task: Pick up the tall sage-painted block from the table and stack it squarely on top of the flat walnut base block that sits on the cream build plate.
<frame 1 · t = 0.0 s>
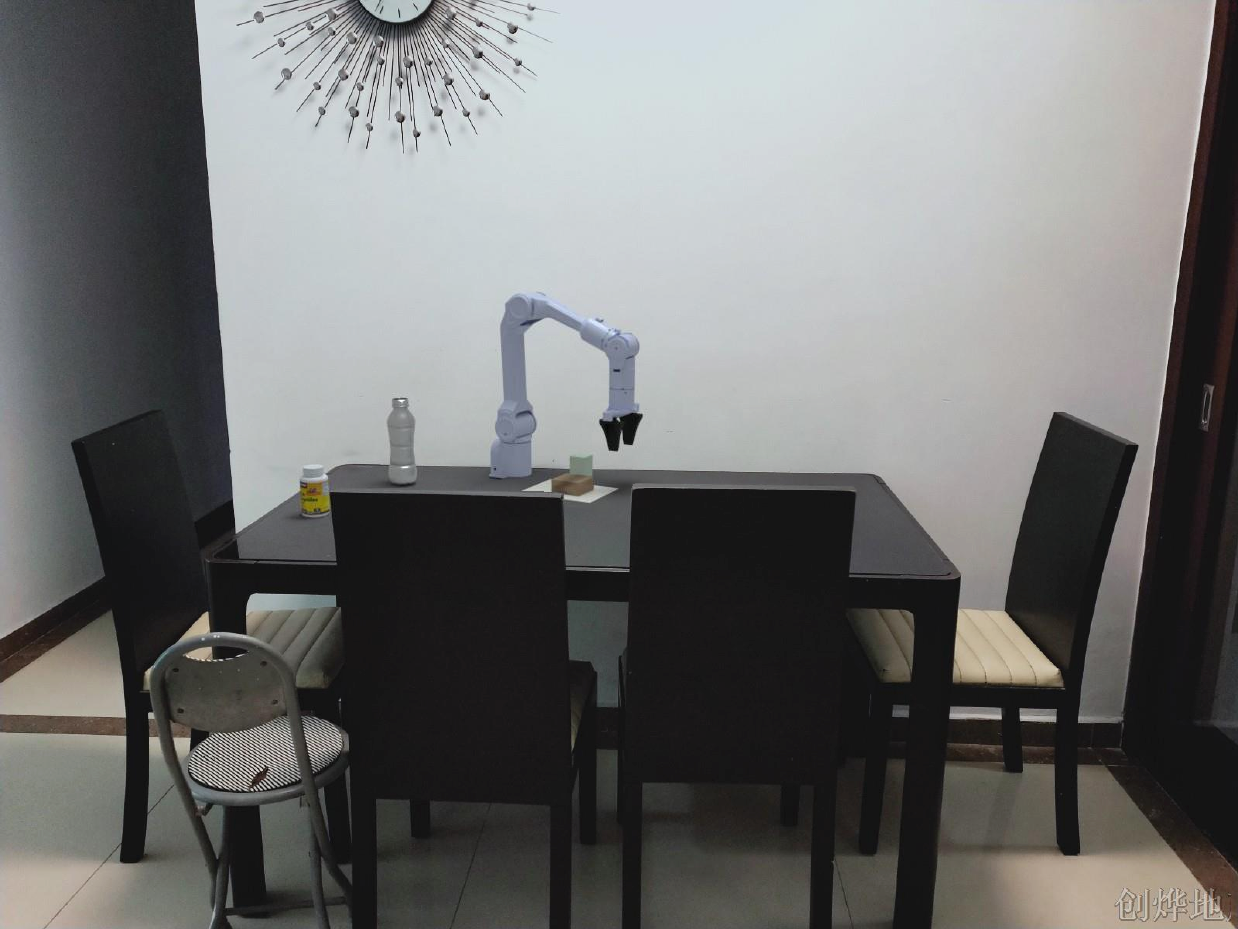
hand: (620, 447, 214), 10 cm above the table, fingers open, 7 cm apart
build plate: (568, 493, 213), on the table
supplement bottle: (316, 515, 194), on the table
plastic bottle: (403, 484, 220), on the table
sage block: (581, 479, 226), on the table
walnut base: (572, 490, 212), point 1 cm above the table, touching build plate
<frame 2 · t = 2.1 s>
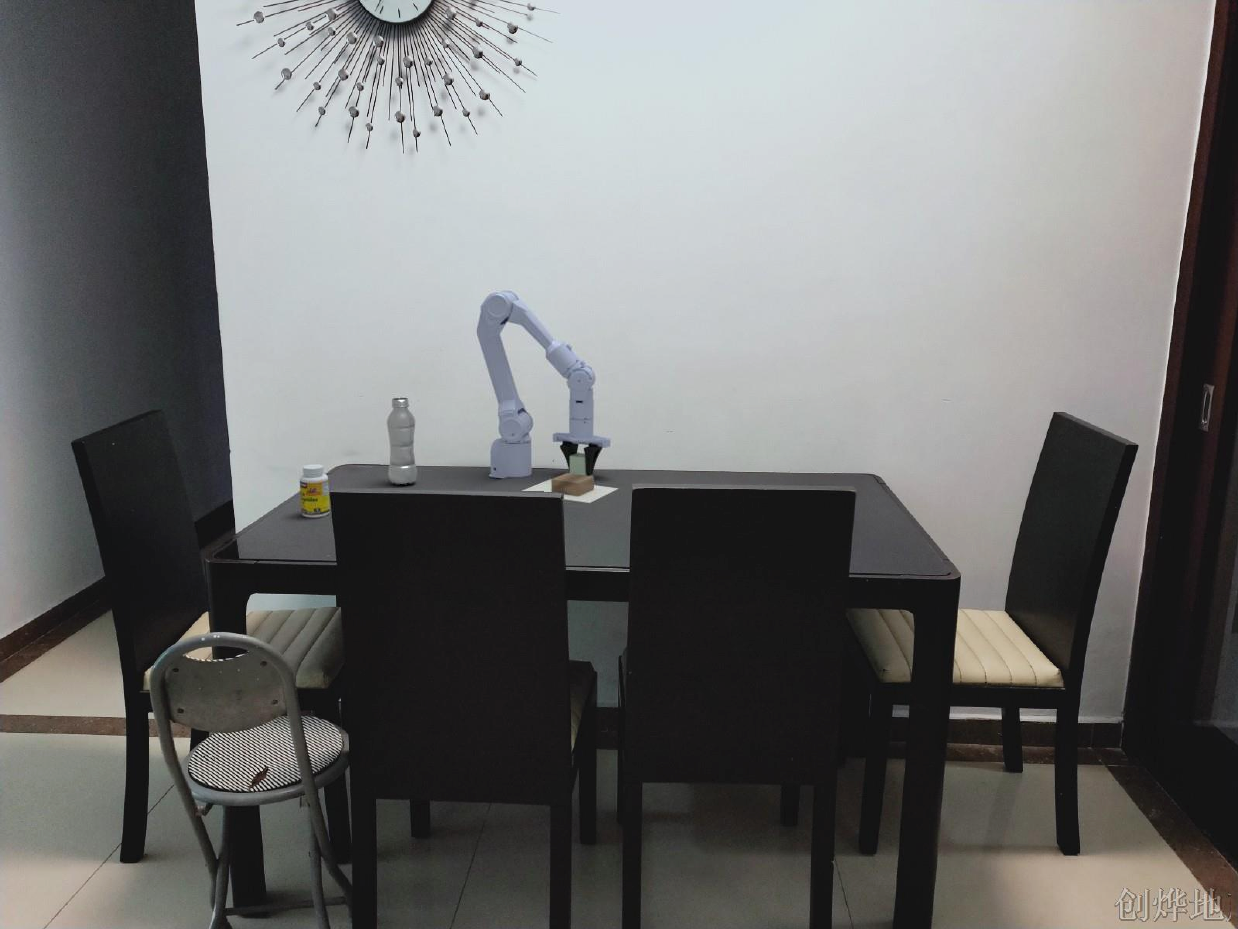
hand: (581, 473, 226), 1 cm above the table, fingers closed on sage block, 4 cm apart
sage block: (581, 479, 226), on the table, touching gripper
everything else where it was.
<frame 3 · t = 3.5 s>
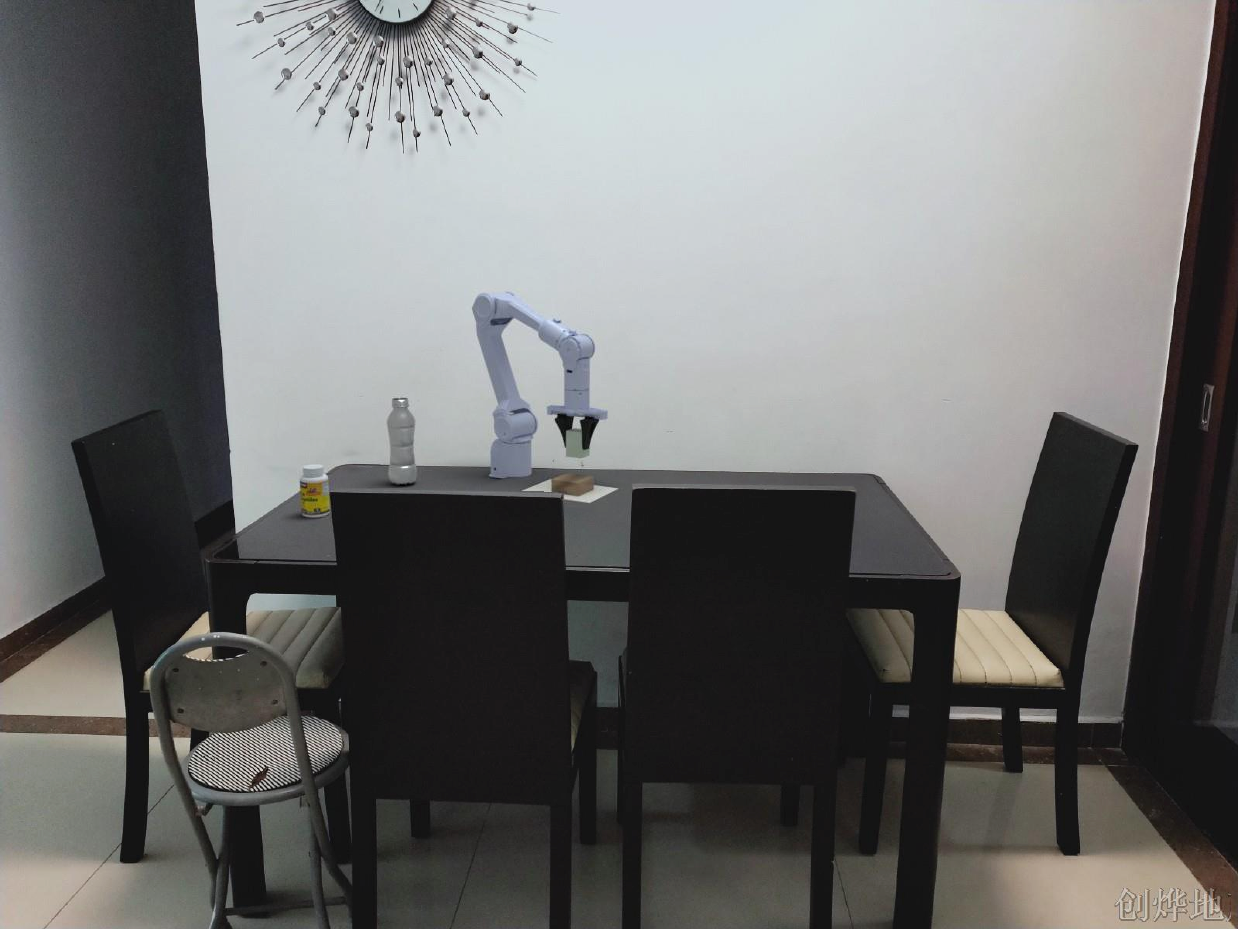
hand: (576, 448, 216), 9 cm above the table, fingers closed on sage block, 4 cm apart
sage block: (577, 455, 216), point 8 cm above the table, touching gripper
everything else where it was.
when the fingers open (6 cm above the table, at t = 4.8 s): sage block stays where it is, resting on walnut base.
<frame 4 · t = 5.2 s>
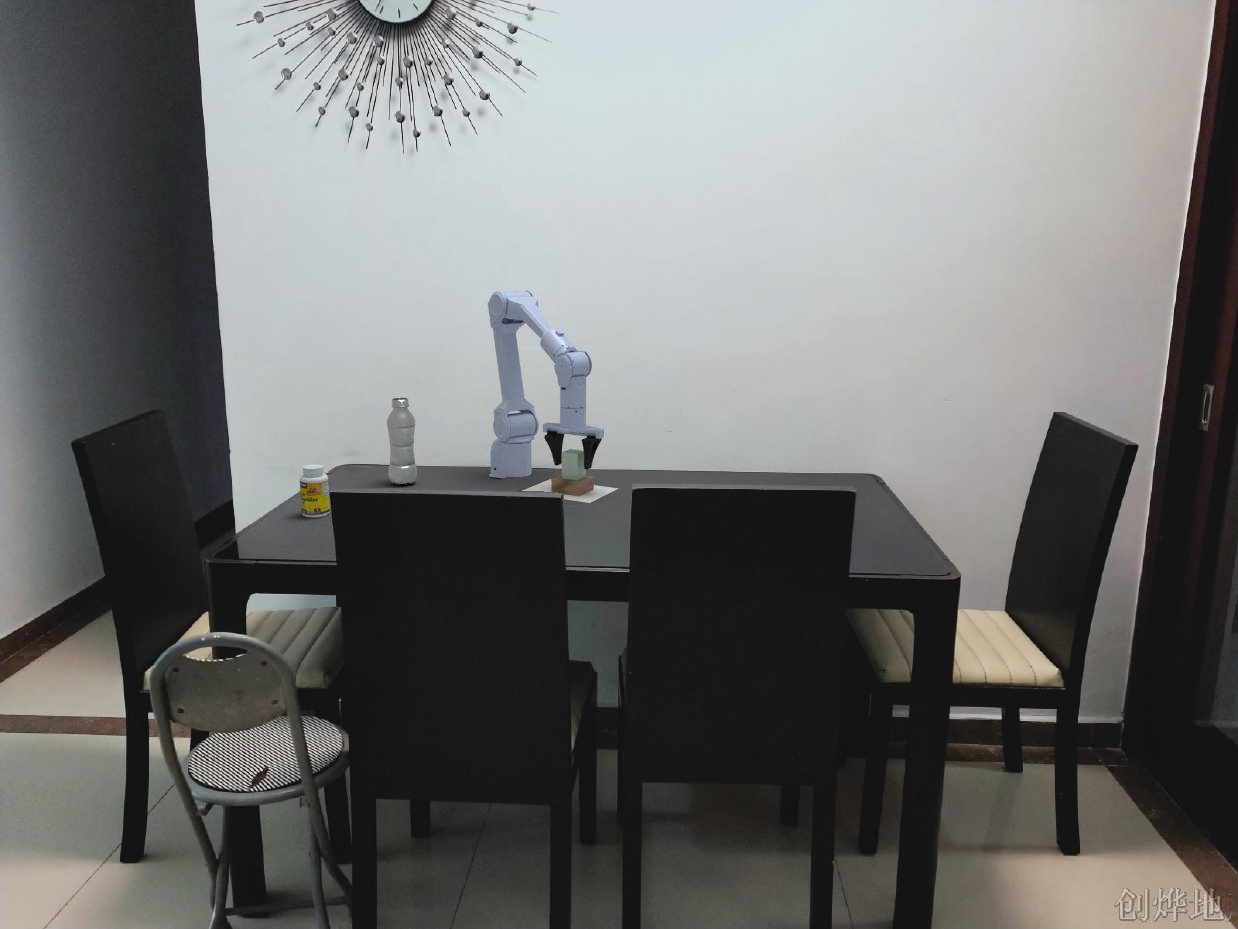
hand: (572, 466, 211), 6 cm above the table, fingers open, 7 cm apart
sage block: (573, 477, 212), point 4 cm above the table, touching walnut base
walnut base: (572, 490, 212), point 1 cm above the table, touching build plate, sage block
everything else where it was.
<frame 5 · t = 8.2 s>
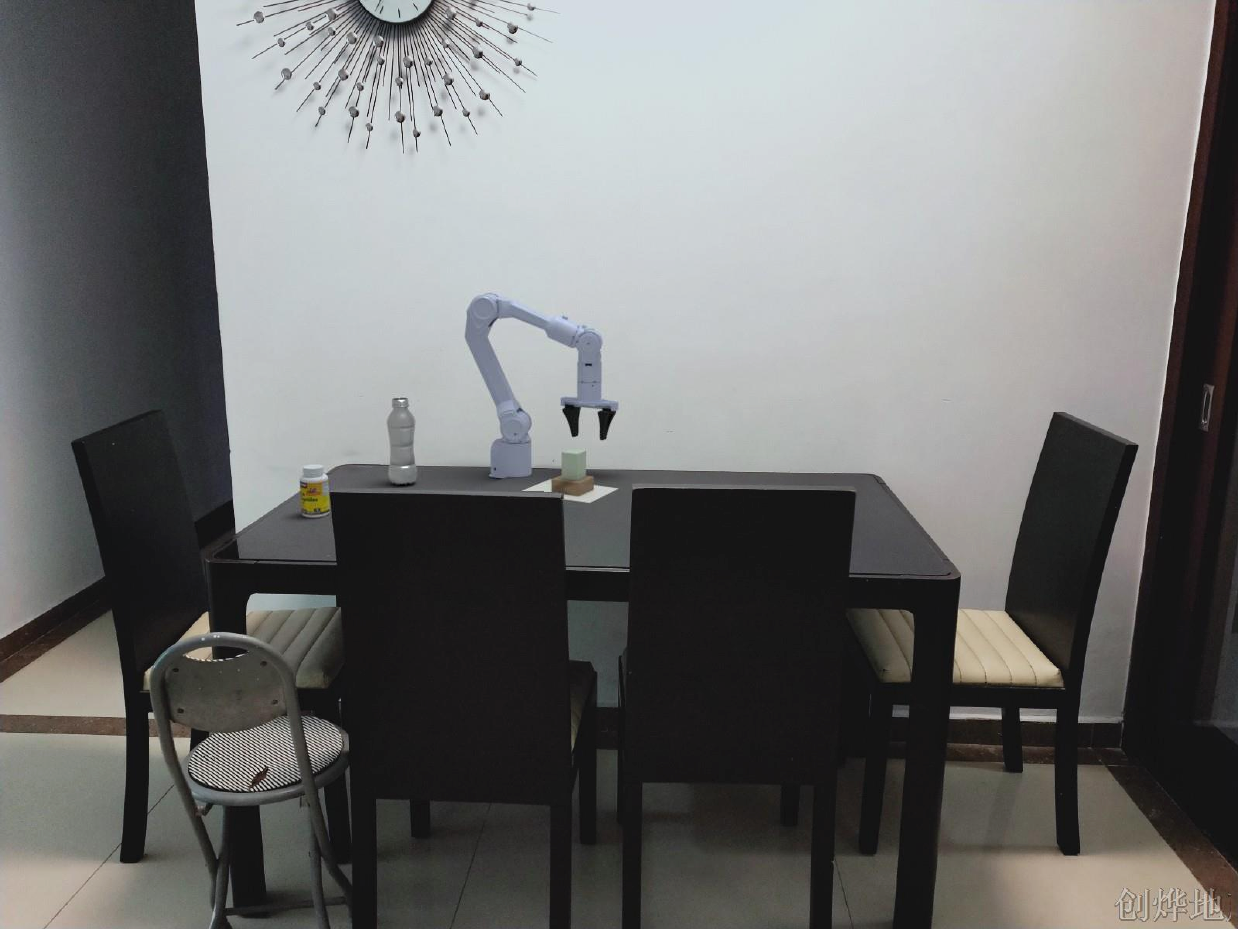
hand: (588, 438, 225), 10 cm above the table, fingers open, 7 cm apart
nothing on the table moved.
at the end: sage block 0.5 cm off-centre on the walnut base, point 3.0 cm above the walnut base's base; sage block tilted 0°; the gripper is holding nothing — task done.
